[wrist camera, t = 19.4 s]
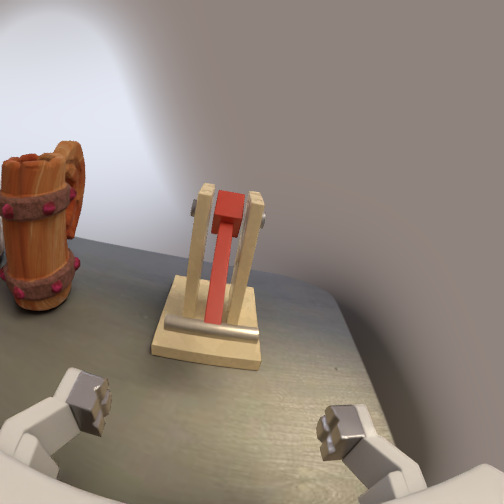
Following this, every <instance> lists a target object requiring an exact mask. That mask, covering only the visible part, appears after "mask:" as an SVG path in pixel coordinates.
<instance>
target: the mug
mask: <svg viewBox="0 0 504 504" xmlns="http://www.w3.org/2000/svg"><path fill="white" fill-rule="evenodd" d="M1 176H2V177H1V190H0V216H1V217H2V226H3V235H4V242H5V249H6V256H7V263H6V264H5V266H4V267H2V268H1V269H0V277H1V278H2V279H3V280H4V281H6V283H7V286H8V288H9V290H10V291H11V293H12V294H13V295H14V298H15V300H16V302H17V304H18V305H19V306H20V307H22V308H24V309H29V310H34V311H42V310H49V309H51V308H54V307H57V306H58V305H59V304H61V303H62V302H63V301H64V300H66V298H67V296H68V294H69V292H70V289H71V281H72V280H73V278H74V275H75V270H77V269H78V268H79V267H80V260H79V259H78V258H77V257H74V255H73V253H72V251H71V250H70V249H69V248H68V247H67V239H73V238H74V236H75V231H76V227H77V224H78V220H79V216H80V212H81V208H82V202H83V194H84V187H85V162H84V157H83V152H82V148H81V145H80V144H79V143H78V142H76V141H61V142H60V143H59V144H58V145H57V147H56V148H55V150H54V152H53V153H44V154H42V155H40V156H37V155H36V154H26V155H22V156H21V157H20V158H19V157H11V158H10V159H9V160H6V161H4V162H3V164H2V174H1Z"/></svg>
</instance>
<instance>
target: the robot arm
mask: <svg viewBox="0 0 504 504" xmlns="http://www.w3.org/2000/svg"><path fill="white" fill-rule="evenodd" d="M108 386H109V382H108V379H107V378H103V377H100V376H97V375H94V374H91V373H87V372H84V371H82V370H78V369H75V368H72V367H70V368H69V369H68V370H67V371H66V373H65V375H64V377H63V379H62V381H61V383H60V384H59V386H58V388H57V390H56V392H55V394H54V396H53V398H52V397H48V398H46V399H44V400H42V401H41V402H39V403H37V404H35V405H33V406H31V407H29V408H28V409H26V410H24V411H22V412H20V413H18V414H16V415H14V416H13V417H11V418H9V419H7V420H5V422H4V424H3V426H2V428H1V430H0V504H126V503H122V502H119V501H115V500H112V499H108V498H105V497H102V496H99V495H96V494H93V493H90V492H87V491H84V490H81V489H79V488H76V487H73V486H71V485H68V484H66V483H63V482H61V481H59V480H56V478H57V474H58V471H59V467H58V465H57V464H56V463H55V462H54V460H53V459H52V458H51V455H52V454H54V453H55V452H56V451H57V450H59V449H60V448H61V447H63V446H64V445H65V444H66V443H68V442H69V441H70V440H71V439H73V438H74V437H75V436H76V435H78V434H79V433H80V432H81V431H83V432H86V433H89V434H92V435H96V436H99V437H101V436H102V433H103V430H104V427H105V424H106V423H105V420H104V417H105V416H107V415H108V414H109V412H110V409H111V403H112V395H111V392H110V391H109V390H108ZM325 414H326V415H324V416H322V417H321V418H320V419H319V421H318V423H317V428H316V429H317V437H318V439H319V440H320V441H321V442H322V445H321V446H320V451H321V455H322V459H323V461H331V460H342V461H343V462H344V463H345V465H346V466H347V467H348V468H349V469H350V470H351V471H352V472H353V473H354V474H355V476H356V477H357V478H358V479H359V480H360V481H361V482H362V483H363V484H364V485H365V486H366V487H367V488H368V490H367V491H365V492H364V493H363V494H361V495H360V496H359V498H358V499H359V503H360V504H504V473H503V472H501V471H499V470H498V469H496V468H494V467H492V466H491V465H488V464H481V465H478V466H476V467H474V468H472V469H470V470H468V471H466V472H464V473H462V474H460V475H458V476H456V477H453V478H451V479H449V480H447V481H444V482H442V483H440V484H437V485H434V486H432V487H429V488H427V485H426V483H425V480H424V478H423V475H422V473H421V470H420V468H419V465H418V464H417V463H416V462H414V461H413V460H412V459H410V458H409V457H408V456H407V455H405V454H404V453H403V452H401V451H400V450H399V449H398V448H396V447H395V446H394V445H392V444H391V443H390V442H389V441H387V440H386V439H385V438H384V437H382V436H381V435H377V432H376V430H375V427H374V425H373V422H372V420H371V417H370V415H369V412H368V409H367V407H366V406H365V405H364V404H360V405H335V406H328V407H327V408H326V410H325Z"/></svg>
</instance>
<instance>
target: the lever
mask: <svg viewBox="0 0 504 504" xmlns="http://www.w3.org/2000/svg"><path fill="white" fill-rule="evenodd" d="M244 199H245V195H244V194H239V193H233V192H228V191H222V190H219V192H218V197H217V202H216V206H215V212H214V217H213V224H212V230H211V233H213V234H218V235H217V241H216V247H215V253H214V259H213V265H212V271H211V278H210V284H209V291H208V297H207V304H206V310H205V317H204V320H201V319H195V318H189V317H183V316H178V315H172V314H166V316H165V320H164V330H167V331H172V332H177V333H183V334H189V335H195V336H201V337H208V338H214V339H221V340H228V341H236V342H243V343H251V344H257V342H258V340H259V328H256V327H249V326H241V325H234V324H227V323H221V322H222V314H223V305H224V297H225V289H226V281H227V272H228V265H229V257H230V249H231V241H232V237H235V238H237V237H238V233H239V229H240V226H241V222H242V217H243V208H244Z"/></svg>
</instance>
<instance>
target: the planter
mask: <svg viewBox="0 0 504 504" xmlns="http://www.w3.org/2000/svg"><path fill="white" fill-rule="evenodd" d="M4 247H5V244H4V235H3V226H2V217H1V216H0V257H1V255H2V253H3V251H4Z"/></svg>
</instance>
